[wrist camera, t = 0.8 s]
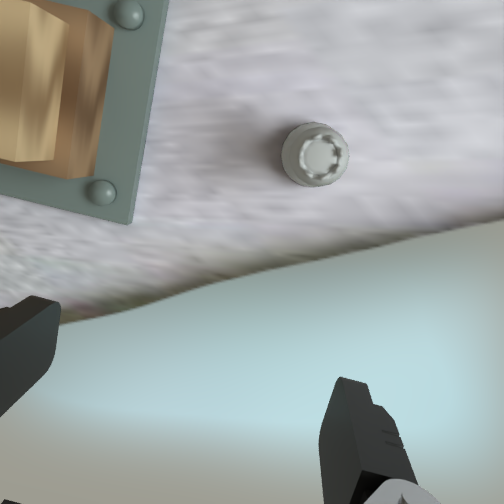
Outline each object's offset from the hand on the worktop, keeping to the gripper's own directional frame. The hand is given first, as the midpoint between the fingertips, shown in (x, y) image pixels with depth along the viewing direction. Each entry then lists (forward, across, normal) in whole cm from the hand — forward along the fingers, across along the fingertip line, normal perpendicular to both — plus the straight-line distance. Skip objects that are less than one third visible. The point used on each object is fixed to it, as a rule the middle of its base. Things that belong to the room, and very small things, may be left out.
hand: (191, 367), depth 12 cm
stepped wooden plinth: (+21, +17, -6) cm, 28 cm away
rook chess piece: (+22, -3, -6) cm, 22 cm away
